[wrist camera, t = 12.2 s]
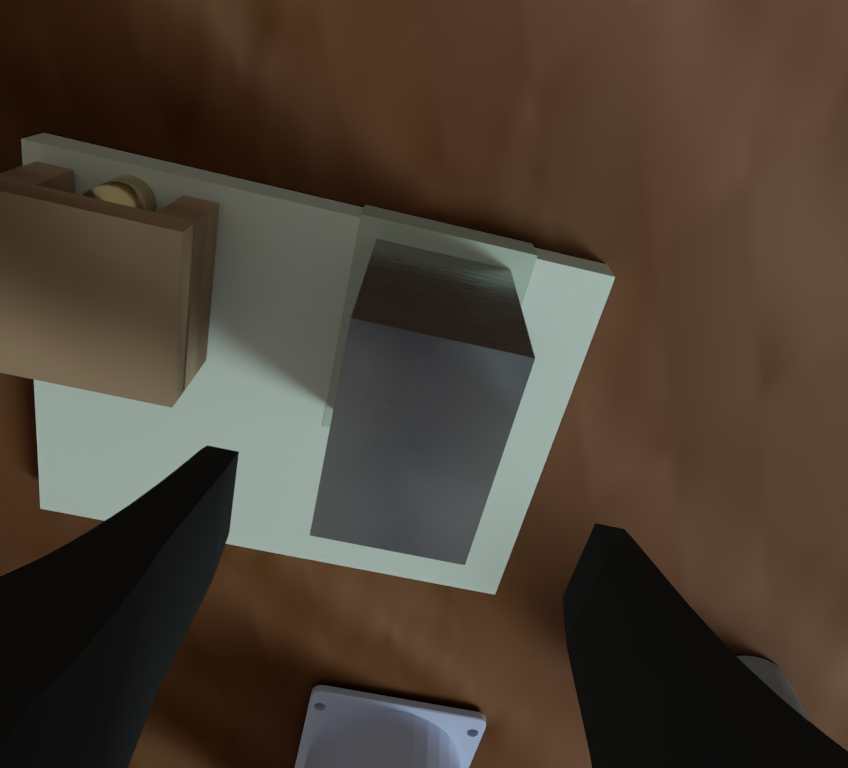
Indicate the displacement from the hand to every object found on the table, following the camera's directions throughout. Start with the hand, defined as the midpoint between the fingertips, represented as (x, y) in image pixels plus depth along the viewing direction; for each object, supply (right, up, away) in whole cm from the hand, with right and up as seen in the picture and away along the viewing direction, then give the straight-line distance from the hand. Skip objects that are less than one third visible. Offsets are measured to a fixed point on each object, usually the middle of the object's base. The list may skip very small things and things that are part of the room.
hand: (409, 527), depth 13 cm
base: (-4, +3, +10) cm, 11 cm away
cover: (-8, +6, +6) cm, 12 cm away
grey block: (0, +4, +7) cm, 9 cm away
